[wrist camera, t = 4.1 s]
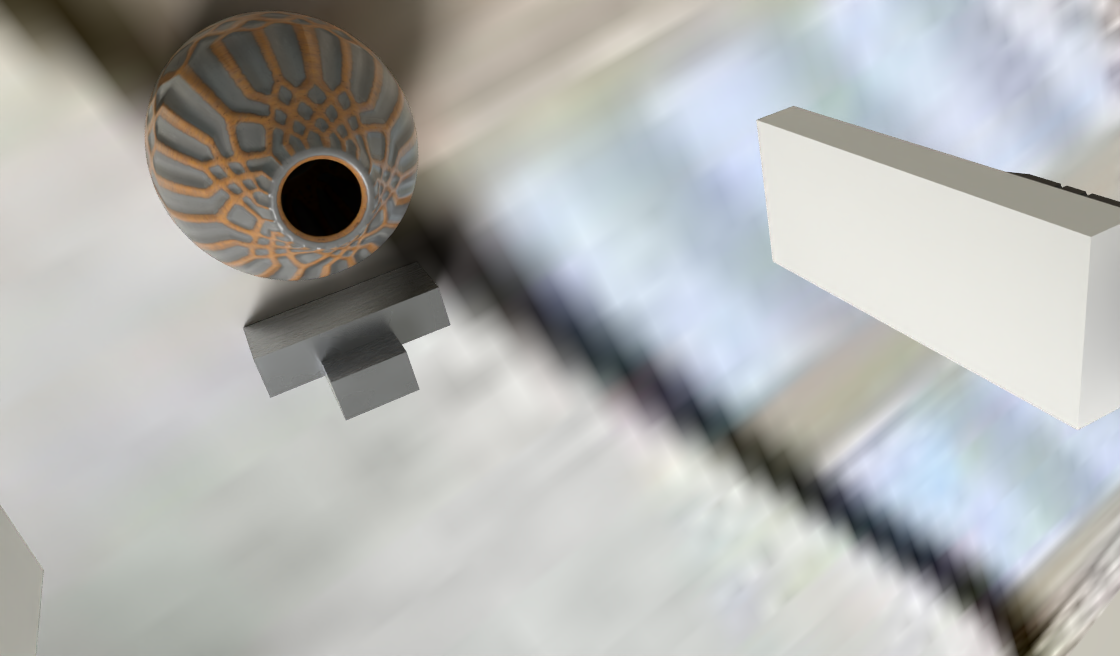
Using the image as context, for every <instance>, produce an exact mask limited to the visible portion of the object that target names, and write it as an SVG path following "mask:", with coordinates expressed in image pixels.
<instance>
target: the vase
mask: <svg viewBox="0 0 1120 656" xmlns="http://www.w3.org/2000/svg"><path fill="white" fill-rule="evenodd" d="M145 149H146V158H147V164H148V168H149V172H150V175H151V178H152V181H153V184H154V187H155V190H156V192H157V194H158V196H159V199H160V200H161V202H162V204H163V206H164V208H165V209H166V211H167V212H168V214H169V216H170V217H171V218H172V220H173V221H174V222H175V224H176V225H177V226H178V227H179V228H180V229H181V230H182V232H183V233H184V234H185V235H186V236H187V237H188V238H189V239H190V240H191V241H192V242H193V243H194V244H196V245H197V246H198V247H199V248H201V249H202V250H203V251H205V252H206V253H207V254H209V255H210V256H212V257H213V258H215V259H217V260H219V261H220V262H222V263H224V264H226V265H228V266H230V267H232V268H234V269H237V270H239V271H242V272H245V273H248V274H251V275H254V276H258V277H263V278H268V279H274V280H289V281H297V280H309V279H316V278H321V277H325V276H329V275H332V274H335V273H338V272H341V271H343V270H345V269H347V268H350V267H351V266H353V265H355V264H357V263H359V262H360V261H362V260H363V259H365V258H366V257H368V256H369V255H370V254H372V253H373V252H374V251H375V250H377V249H378V248H379V247H380V246H381V245H382V244H383V243H384V242H385V241H386V240H387V239H388V237H389V236H390V235H391V234H392V233H393V231H394V230H395V229H396V227H397V226H398V224H399V223H400V221H401V219H402V218H403V216H404V214H405V212H406V210H407V207H408V205H409V203H410V200H411V197H412V194H413V190H414V187H415V183H416V177H417V170H418V141H417V133H416V128H415V124H414V120H413V116H412V113H411V110H410V107H409V104H408V102H407V100H406V97H405V95H404V93H403V91H402V89H401V88H400V86H399V84H398V82H397V81H396V79H395V78H394V76H393V75H392V73H391V72H390V70H389V69H388V68H387V67H386V65H385V64H384V63H383V62H382V61H381V60H380V59H379V57H378V56H377V55H376V54H374V53H373V52H372V51H371V50H370V49H369V48H368V47H367V46H365V45H364V44H363V43H362V42H360V41H359V40H358V39H356V38H355V37H353V36H352V35H350V34H349V33H347V32H345V31H344V30H342V29H340V28H338V27H336V26H334V25H332V24H330V23H327V22H325V21H322V20H320V19H317V18H314V17H310V16H307V15H303V14H298V13H293V12H283V11H257V12H249V13H244V14H239V15H235V16H232V17H229V18H226V19H223V20H220V21H218V22H216V23H214V24H212V25H210V26H208V27H206V28H205V29H203V30H201V31H200V32H198V33H197V34H195V35H194V36H193V37H191V38H190V39H189V40H188V41H187V42H185V43H184V44H183V45H182V46H181V47H180V48H179V49H178V50H177V51H176V53H175V54H174V55H173V56H172V57H171V58H170V60H169V61H168V63H167V64H166V65H165V67H164V69H163V70H162V72H161V74H160V76H159V78H158V80H157V82H156V84H155V86H154V89H153V92H152V95H151V98H150V101H149V105H148V109H147V115H146V122H145Z"/></svg>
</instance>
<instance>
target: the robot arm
mask: <svg viewBox="0 0 1120 656" xmlns="http://www.w3.org/2000/svg"><path fill="white" fill-rule="evenodd" d="M757 129H758V138H759V146H760V155H761V164H762V172H763V181H764V189H765V198H766V207H767V215H768V224H769V232H770V241H771V250H772V258H773V262H775V263H777V264H778V265H780V266H782V267H784V268H786V269H787V270H789V271H791V272H793V273H795V274H796V275H798V276H800V277H802V278H804V279H805V280H807V281H809V282H811V283H813V284H815V285H816V286H818V287H820V288H822V289H824V290H825V291H827V292H829V293H831V294H833V295H834V296H836V297H838V298H840V299H842V300H843V301H845V302H847V303H849V304H851V305H852V306H854V307H856V308H858V309H860V310H861V311H863V312H865V313H867V314H869V315H870V316H872V317H874V318H876V319H878V320H880V321H881V322H883V323H885V324H887V325H889V326H890V327H892V328H894V329H896V330H898V331H899V332H901V333H903V334H905V335H907V336H908V337H910V338H912V339H914V340H916V341H917V342H919V343H921V344H923V345H925V346H926V347H928V348H930V349H932V350H934V351H936V352H937V353H939V354H941V355H943V356H945V357H946V358H948V359H950V360H952V361H954V362H955V363H957V364H959V365H961V366H963V367H964V368H966V369H968V370H970V371H972V372H973V373H975V374H977V375H979V376H981V377H982V378H984V379H986V380H988V381H990V382H991V383H993V384H995V385H997V386H999V387H1001V388H1002V389H1004V390H1006V391H1008V392H1010V393H1011V394H1013V395H1015V396H1017V397H1019V398H1020V399H1022V400H1024V401H1026V402H1028V403H1029V404H1031V405H1033V406H1035V407H1037V408H1038V409H1040V410H1042V411H1044V412H1046V413H1047V414H1049V415H1051V416H1053V417H1055V418H1057V419H1058V420H1060V421H1062V422H1064V423H1066V424H1067V425H1069V426H1071V427H1073V428H1075V429H1076V430H1079V429H1081V428H1083V427H1085V426H1087V425H1089V424H1091V423H1092V422H1094V421H1096V420H1098V419H1100V418H1102V417H1104V416H1106V415H1107V414H1109V413H1111V412H1113V411H1115V410H1117V409H1119V408H1120V202H1118V201H1115V200H1112V199H1109V198H1105V197H1102V196H1099V195H1096V194H1090V195H1087V194H1086V191H1082V190H1079V189H1076V188H1073V187H1069V186H1065V187H1063V188H1062V187H1061V184H1059V183H1056V182H1053V181H1050V180H1046V179H1043V178H1040V177H1037V176H1033V175H1030V174H1022V173H1012V172H1004V171H1001V170H998V169H994V168H991V167H988V166H985V165H982V164H978V163H975V162H972V161H969V160H966V159H962V158H959V157H956V156H953V155H949V154H946V153H943V152H940V151H937V150H933V149H930V148H927V147H924V146H920V145H917V144H914V143H911V142H908V141H904V140H901V139H898V138H895V137H892V136H888V135H885V134H882V133H879V132H875V131H872V130H869V129H866V128H863V127H859V126H856V125H853V124H850V123H847V122H843V121H840V120H837V119H834V118H830V117H827V116H824V115H821V114H818V113H814V112H811V111H808V110H805V109H802V108H798V107H795V106H792V107H789V108H787V109H784V110H782V111H779V112H776V113H774V114H771V115H768V116H766V117H763V118H760V119H758V120H757ZM43 573H44V570H43V569H42V567H41V566H40V564H39V563H38V561H37V559H36V558H35V556H34V555H33V553H32V552H31V550H30V549H29V547H28V546H27V544H26V543H25V541H24V540H23V538H22V537H21V535H20V534H19V532H18V531H17V529H16V528H15V526H14V525H13V523H12V522H11V520H10V519H9V517H8V516H7V514H6V513H5V511H4V510H3V508H2V507H1V505H0V656H36V649H37V638H38V627H39V616H40V605H41V594H42V583H43Z"/></svg>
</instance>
